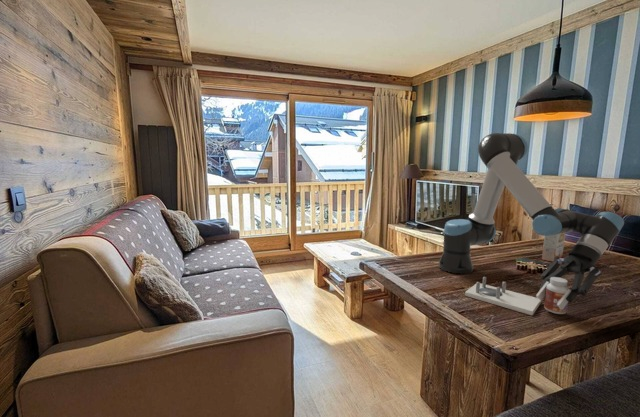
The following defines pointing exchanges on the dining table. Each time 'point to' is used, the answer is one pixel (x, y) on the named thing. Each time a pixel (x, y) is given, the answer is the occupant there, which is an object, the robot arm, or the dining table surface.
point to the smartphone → (532, 261)
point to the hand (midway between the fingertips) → (548, 302)
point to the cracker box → (553, 246)
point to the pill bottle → (555, 295)
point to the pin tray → (503, 297)
